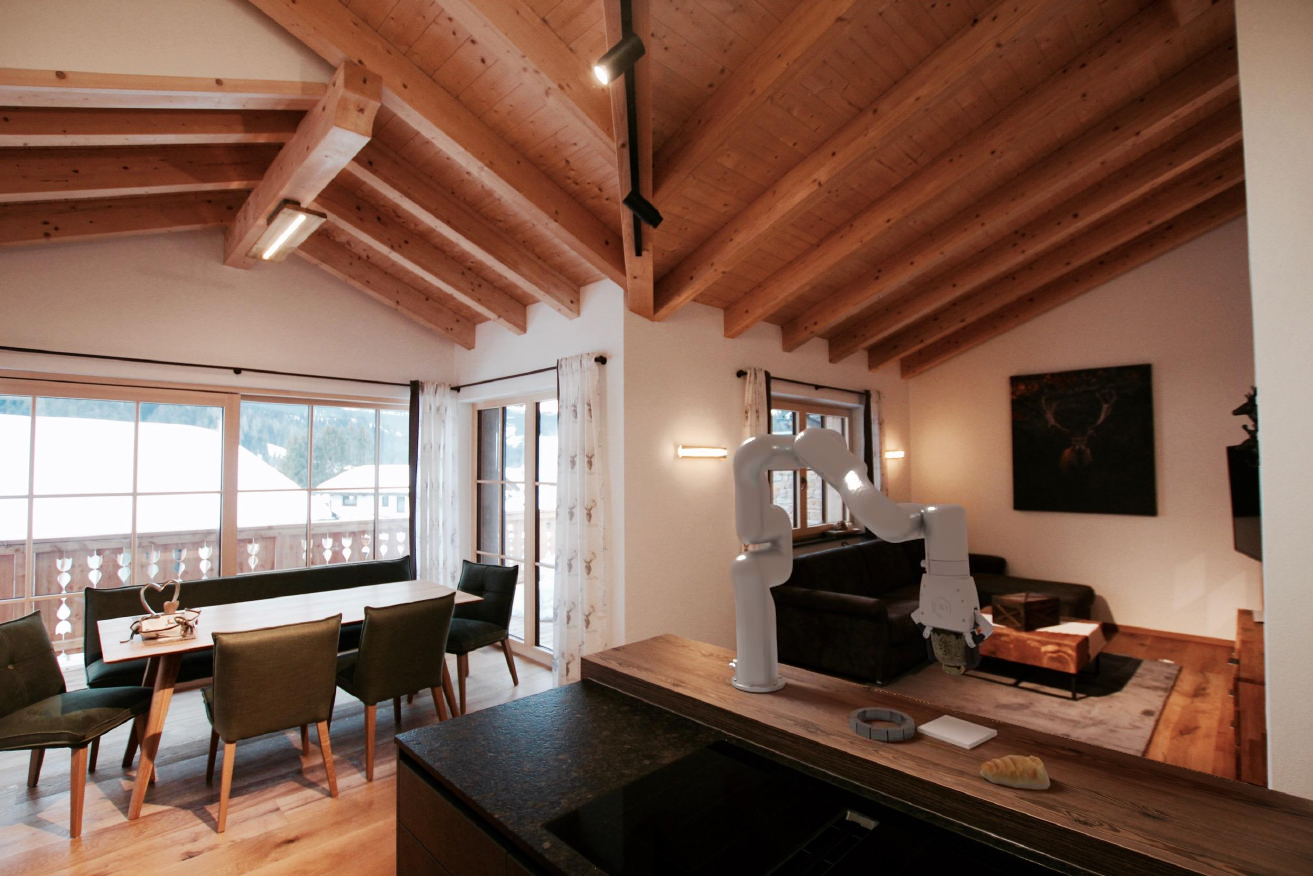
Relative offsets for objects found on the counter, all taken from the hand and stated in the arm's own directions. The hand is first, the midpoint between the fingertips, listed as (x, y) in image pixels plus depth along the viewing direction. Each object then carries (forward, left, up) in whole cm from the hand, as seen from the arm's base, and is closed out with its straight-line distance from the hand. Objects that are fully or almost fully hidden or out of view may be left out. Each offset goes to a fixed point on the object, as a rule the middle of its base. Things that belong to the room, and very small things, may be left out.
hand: (953, 662), depth 118 cm
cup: (0, 0, -2) cm, 2 cm away
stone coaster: (0, 0, -13) cm, 13 cm away
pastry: (+15, -10, -14) cm, 23 cm away
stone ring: (-10, -9, -13) cm, 19 cm away
